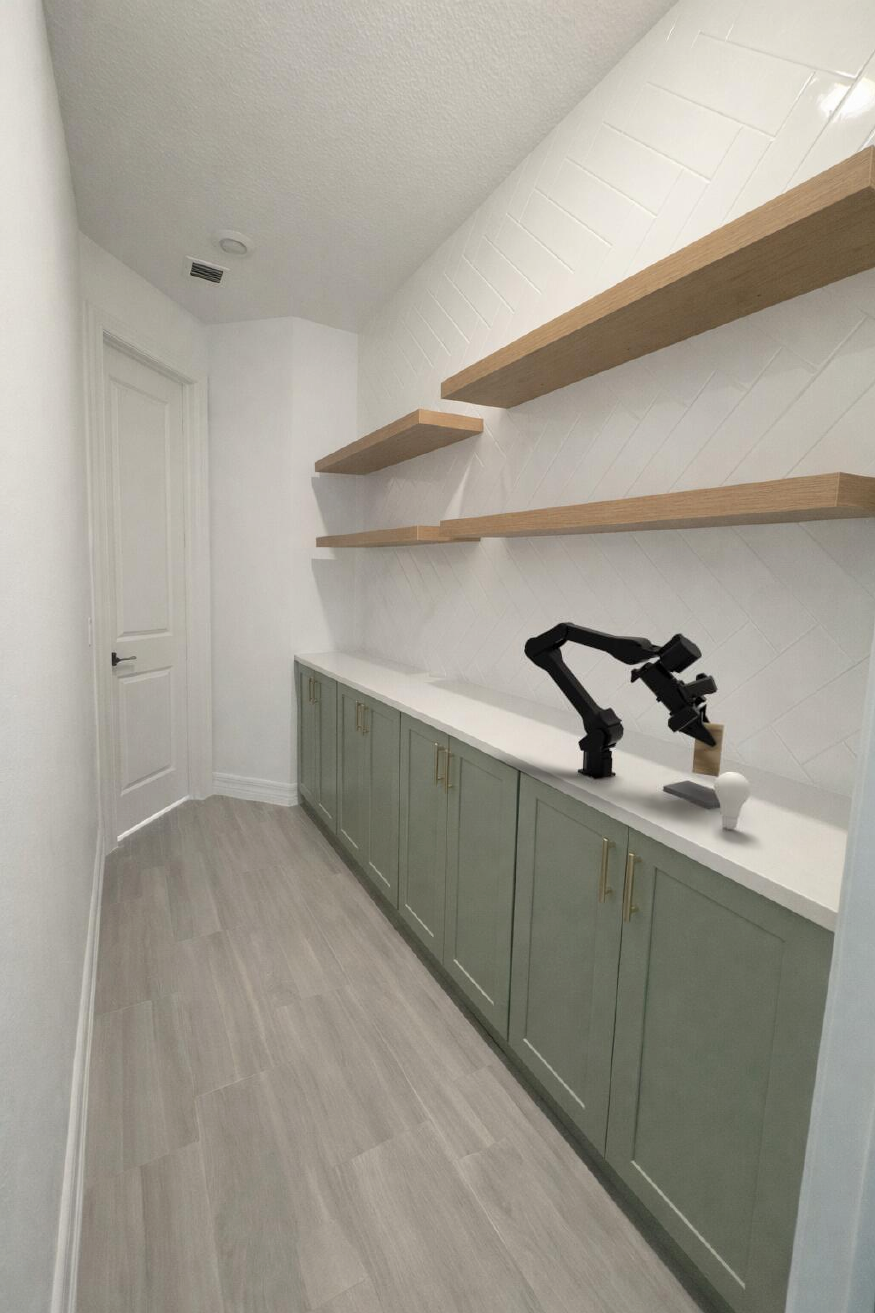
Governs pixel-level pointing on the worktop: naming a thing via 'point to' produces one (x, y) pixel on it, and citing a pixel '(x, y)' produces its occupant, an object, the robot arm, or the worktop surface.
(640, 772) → the worktop surface
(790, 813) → the worktop surface
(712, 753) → the oak block
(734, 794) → the lightbulb
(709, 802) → the charcoal mat
